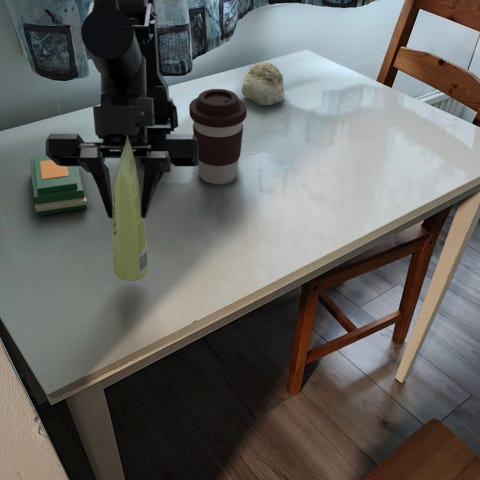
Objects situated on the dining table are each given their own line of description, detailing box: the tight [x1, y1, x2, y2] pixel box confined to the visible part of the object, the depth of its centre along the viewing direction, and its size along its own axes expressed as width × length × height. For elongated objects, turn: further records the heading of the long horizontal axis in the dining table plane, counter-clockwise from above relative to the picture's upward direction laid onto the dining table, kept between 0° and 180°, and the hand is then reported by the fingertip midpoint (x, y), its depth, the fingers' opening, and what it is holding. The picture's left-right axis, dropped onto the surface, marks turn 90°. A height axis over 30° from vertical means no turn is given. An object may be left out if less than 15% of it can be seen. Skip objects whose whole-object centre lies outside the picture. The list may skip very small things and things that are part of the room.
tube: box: [111, 136, 149, 282], centre depth 69 cm, size 6×5×20 cm
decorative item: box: [241, 62, 285, 106], centre depth 121 cm, size 12×9×10 cm
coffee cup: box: [188, 88, 248, 185], centre depth 94 cm, size 10×10×15 cm
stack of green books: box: [29, 153, 88, 216], centre depth 92 cm, size 8×15×5 cm, turn 18°
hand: (126, 217), depth 68 cm, fingers closed on tube, 4 cm apart
